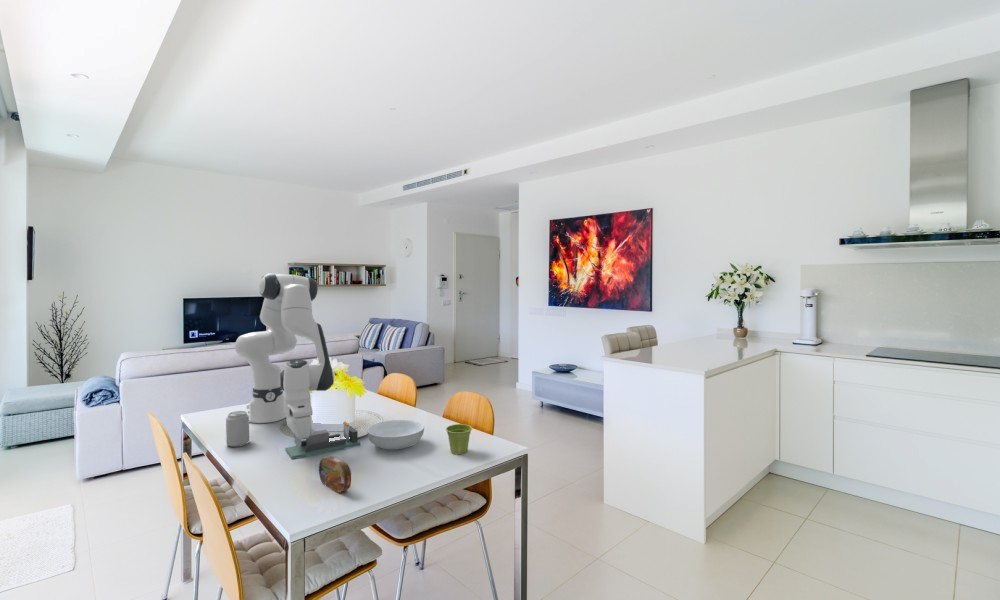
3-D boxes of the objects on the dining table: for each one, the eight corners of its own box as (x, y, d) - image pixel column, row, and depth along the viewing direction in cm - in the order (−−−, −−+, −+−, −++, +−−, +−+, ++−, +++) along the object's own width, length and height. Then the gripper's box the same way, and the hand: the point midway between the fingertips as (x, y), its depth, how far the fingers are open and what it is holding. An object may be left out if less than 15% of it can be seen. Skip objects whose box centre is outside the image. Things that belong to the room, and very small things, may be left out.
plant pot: (464, 458, 161) (464, 433, 161) (440, 453, 165) (441, 430, 165) (476, 449, 170) (476, 426, 169) (454, 445, 174) (454, 422, 173)
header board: (285, 450, 167) (284, 429, 167) (351, 437, 181) (351, 417, 181) (291, 459, 159) (291, 436, 159) (359, 444, 173) (359, 424, 173)
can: (239, 448, 169) (238, 416, 168) (221, 446, 170) (220, 414, 170) (254, 441, 176) (253, 410, 176) (237, 440, 178) (236, 409, 177)
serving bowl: (435, 443, 176) (435, 425, 176) (394, 460, 159) (394, 441, 159) (397, 432, 188) (397, 415, 188) (355, 447, 171) (355, 429, 170)
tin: (318, 481, 142) (317, 454, 142) (327, 478, 145) (327, 451, 144) (343, 497, 132) (343, 468, 132) (353, 493, 135) (353, 464, 134)
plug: (306, 446, 169) (305, 433, 169) (326, 442, 173) (326, 429, 173) (308, 449, 166) (308, 436, 165) (329, 445, 170) (329, 432, 170)
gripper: (281, 401, 171) (282, 437, 172) (294, 414, 154) (294, 455, 155) (299, 398, 175) (300, 434, 175) (313, 411, 158) (314, 451, 159)
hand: (297, 444), depth 165 cm, fingers closed
